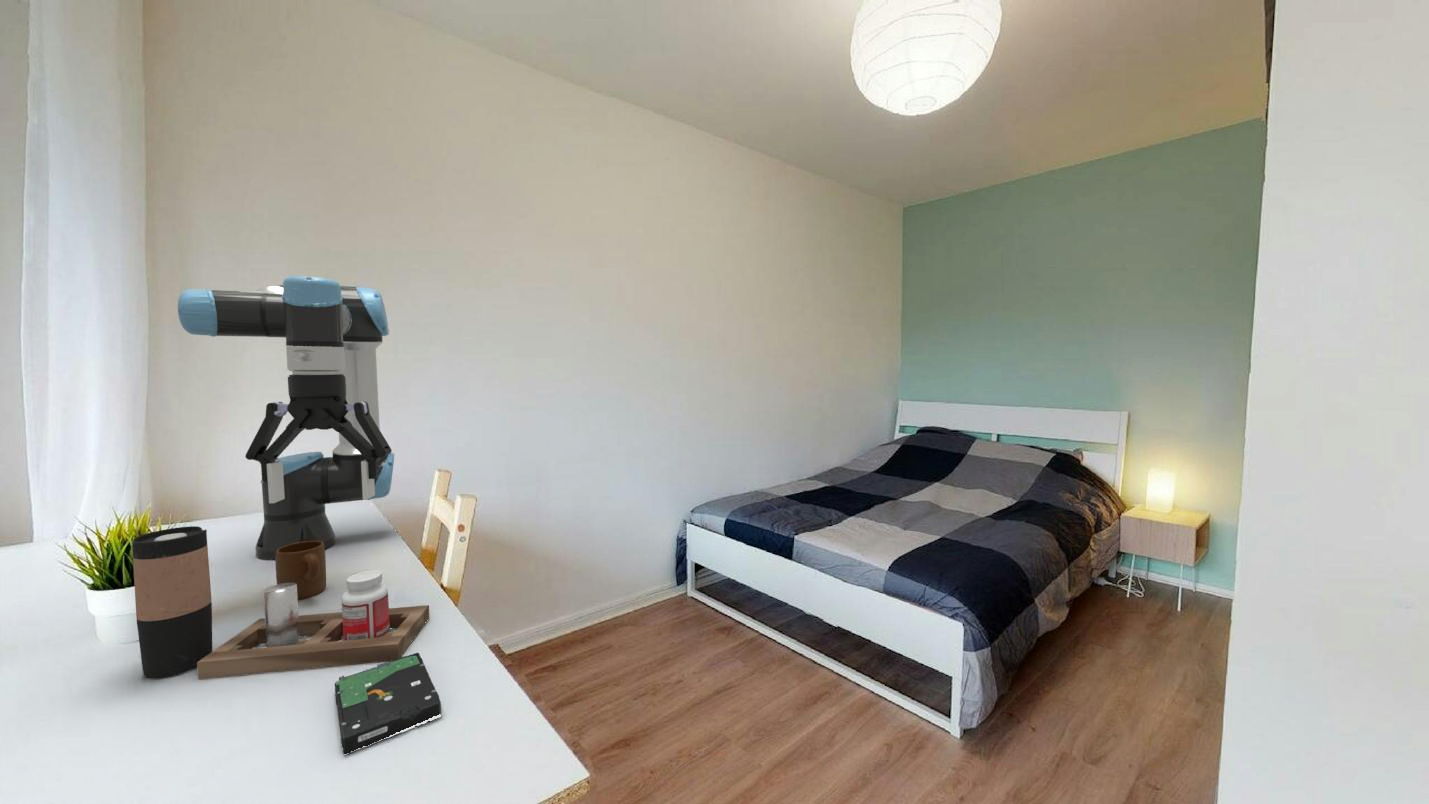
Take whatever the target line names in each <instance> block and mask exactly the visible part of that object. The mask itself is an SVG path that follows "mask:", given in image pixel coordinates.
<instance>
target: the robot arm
mask: <svg viewBox="0 0 1429 804" xmlns="http://www.w3.org/2000/svg"><path fill="white" fill-rule="evenodd" d="M382 296H383V295H382V294H381V293H380V291H378V290H377V289H374V288H368V287H360V286H346V285H340V283H339V282H338V281H336V280H335V279H330V278H326V277H318V276H305V275H292V276H287V277H285V278H284V279H283V281H282V284H281V285H267V286H264V287H263V286H262V287H260V288H258V289H256V290H218V289H217V290H216V289H211V288H210V289H209V288H206V289H193V288H191V289H185V290H183V291H182V292H181V293H180V295H179V296H178V299H177V315H178V319H179V322H180V325H181V326H182V329H184V331H186V332H187V333H188V334H190V335H195V336H209V337H256V338H257V337H259V338H261V337H262V338H264V337H265V338H285V350H286V353H285V354H286V366H287V367H286V369H287V371H289V372H291V373H292V374H289V376H287V389H288V391H287V393H288V396H289V403H283V402H282V401H276V402H275V401H274V402H269V403H267V404H266V406H265V417H264V418H263V420H262V422H261V424H260V426H259V428H258V430H257V432H256V434H255V436H254V438H253V440H252V442H251V444H249V445H250V446H249V448H248V449H247V451H246V454H245V458H246V459H247V460H248V461H249V460H252V461H256V462H259V464H260V467H261V469H260V470H261V480H260V483H261V489H262V490H261V491H262V508H263V526H262V528H261V530H260V533H259V537H258V539H257V542H256V545H255V555H256V558H258V559H262V560H275V559H276V550H277V549H279V548H281V547H283V546H286V545H289V544H293V543H297V542H304V541H322V542H323V543H324V548H325V550H326V549H328V548H331V547H332V546H334V545H335V544H336V533H335V531H334V528H333V526H332V525H331V523H330V521H329V518H328V516H327V514H326V505H329V504H338V503H346V502H347V503H348V502H357V501H358V502H359V501H366V500H367V501H370V500H375V499H381V498H385V497H387V496H388V495H389V494H390V491H391V488H392V487H391V486H392V480H393V473H394V461H395V454H394V453H393V451H392V448H391V446H390V445H389V443H388V441H387V440H386V438H385V437H384V434H383V433H382V432H381V429H380V428H381V427H380V411H379V410H380V409H379V408H380V407H379V389H378V388H379V387H378V386H379V385H378V370H377V366H378V365H377V351H376V350H377V348H379V346H381V345H382V344H383V343H384V342H383V341H384V340H383V337H385V336H389V334H390V330H389V323H388V317H387V311H386V307H385V304H384V299H383V297H382ZM287 413H289V415H290V416H291V417H292V418H293V419H291V421H290V422H289V423H288V424H287V425H286V427H285V429H284V430H283V431H282V433H281V434H280V435H279V436H278V437H277V438H276V439H275V440H274V441H273V442H272V443H271V441H272V440H273V437H274V436H275V434H276V432H277V430H278V428H279V426H280V425H281V422H282V420H283V417H284V416H286V415H287ZM315 429H317V430H326V431H327V430H331V429H333V430H334V431H335V432H337V433H338V442H339V443H338V444H337V445H336V446H335V447H334V448H333V449H332V452H331V453H332V456H327V457H324V454H323V452H322V451H309V452H302V453H301V452H300V453H296V454H291V455H287V456H281V457H280V455H281V454H283V452H284V451H285V450H286V449H287V448H288V447H289V445H291V444H292V443H293V442H294V440H295V439H296V438H297V437H298V435H299V434H301V432H302V431H305V430H307V431H311V430H315ZM270 443H271V445H270Z"/></svg>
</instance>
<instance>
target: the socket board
mask: <svg viewBox="0 0 1429 804" xmlns="http://www.w3.org/2000/svg"><path fill="white" fill-rule="evenodd" d="M298 617H299V636H300V638H301V637H303V638H304V637H310V638H309V639H300V641H299V642H298V643H297V644H296V645H289V646H278V647H266V646H265V647H257V646H258V645H266V633H265V617H261V618H259V619H257V620H255V622H253V623H252V624H250V625H249V626H247V627H246V628H245V629H243V630H241V631H239V633H238V634H236V635H234V636H233V637H231V638H230V639H228V640H227V641H226V642H224V643H223V644H221V645H220V646H218V647H217V648H216V649H214V650H212V652H211V653H210V654H208V655H207V656H205V657H204V658H203V659H201V660H200V661H198V662H197V668H196V669H197V679H198V680H205V679H215V678H216V679H217V678H225V677H236V676H245V675H255V674H265V673H267V674H269V673H277V672H287V671H296V670H297V671H298V670H306V669H307V670H309V669H317V668H319V669H320V668H327V667H328V668H329V667H340V666H350V665H358V664H359V665H360V664H368V663H369V664H370V663H379V662H380V661H381V662H390V661H391V660H395V659H399V658H401V657H402V656H401V655H403V654H404V653H405V652H406V651H407V649H408V648H409V647H410V645H411V644H412V643H411V641H412V640H413V639H414V638H415V639H416V637H417V636H418V635H417V633H418V632H419V631H420V629H421V628H422V627H423V625H424V624H425V622H427V623H428V621H429V620H430V605H429V604H428V605H427V604H426V605H416V606H415V605H413V606H401V607H400V606H399V607H390V608H389V625H390V628H396V630H395V631H390V632H388V633H386V634H385V635H384V637H379V638H368V639H356V640H345V641H344V640H341V638H344V636H343V618H342V611H340V612H339V611H338V612H337V611H335V612H325V613H313V614H298ZM428 619H429V620H428ZM427 620H428V621H427ZM425 625H426V624H425ZM425 625H424V626H425ZM423 628H424V627H423ZM423 628H422V629H423ZM422 629H421V630H422ZM420 632H421V631H420ZM420 632H419V633H420ZM419 633H418V634H419ZM416 635H417V636H416ZM415 636H416V637H415ZM415 639H414V640H415ZM414 640H413V641H414ZM413 641H412V642H413ZM410 643H411V644H410ZM409 644H410V645H409ZM255 647H257V648H255ZM407 647H408V648H407ZM404 651H405V652H404ZM403 652H404V653H403ZM400 656H401V657H400Z"/></svg>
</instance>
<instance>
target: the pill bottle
mask: <svg viewBox="0 0 1429 804" xmlns="http://www.w3.org/2000/svg"><path fill="white" fill-rule="evenodd" d="M382 582H383V573H382V571H381V570H377V569H376V570H374V569H372V570H370V569H369V570H365V571H360V572H357V573H356V572H355V573H354V574H352V575H350V576H348V577H347V578H346V589H347V591H345V592H344V593H343V595H342V597H341V612H342V618H343V636H344V637H343V641H345V640H356V639H368V638H379V637H384V635H385V634H386V633H388V632H391V631H390V630H391V629H390V625H389V607H390V606H389V591H388V587H387V586H386V585H385V584H384V583H382Z"/></svg>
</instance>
